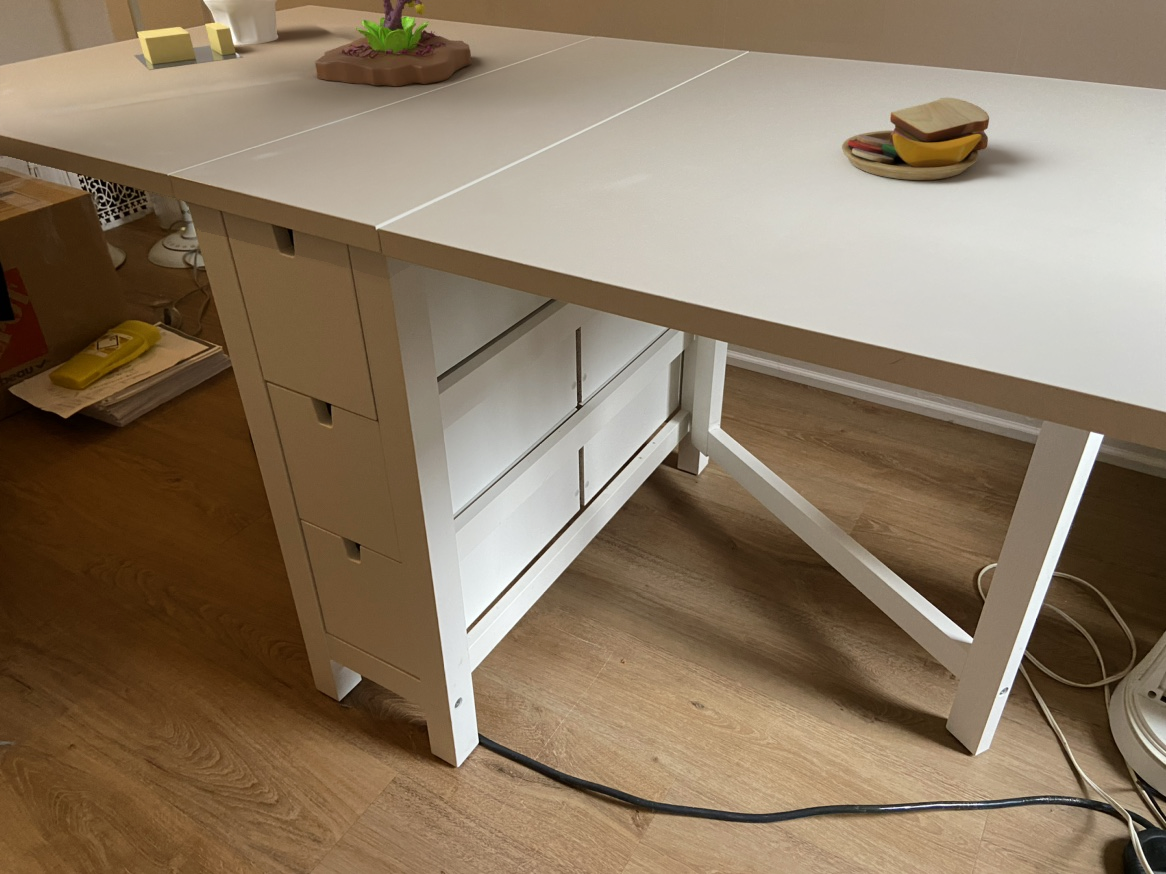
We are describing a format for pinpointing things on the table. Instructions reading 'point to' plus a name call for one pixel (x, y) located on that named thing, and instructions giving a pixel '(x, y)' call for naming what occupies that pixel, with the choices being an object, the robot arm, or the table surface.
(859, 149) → the toy sandwich meal
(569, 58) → the table surface
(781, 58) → the table surface
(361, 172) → the table surface
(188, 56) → the butter
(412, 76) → the plant
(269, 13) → the cup
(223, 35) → the butter slice
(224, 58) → the butter dish
